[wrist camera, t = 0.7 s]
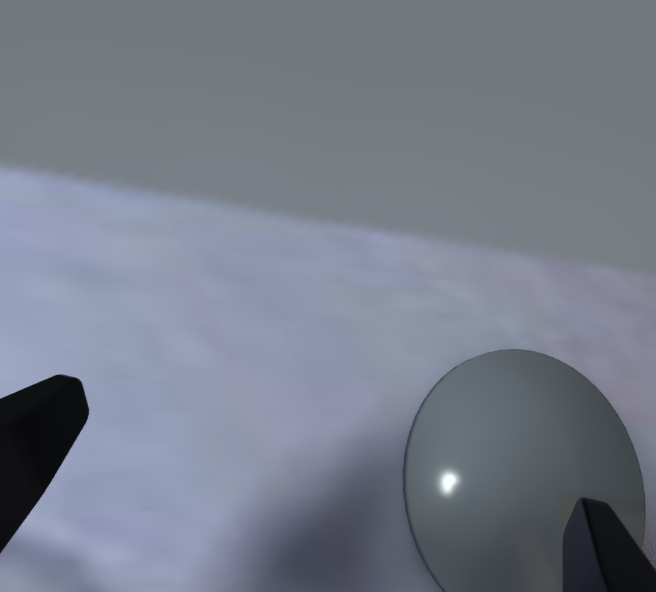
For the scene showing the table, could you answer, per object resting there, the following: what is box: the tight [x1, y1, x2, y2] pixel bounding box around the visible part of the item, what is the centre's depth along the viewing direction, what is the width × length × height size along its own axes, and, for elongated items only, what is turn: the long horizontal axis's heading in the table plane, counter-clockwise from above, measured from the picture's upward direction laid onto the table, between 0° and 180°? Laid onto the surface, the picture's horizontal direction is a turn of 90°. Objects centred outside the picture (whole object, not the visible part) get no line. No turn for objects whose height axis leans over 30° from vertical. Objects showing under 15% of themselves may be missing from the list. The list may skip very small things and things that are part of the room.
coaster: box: [403, 349, 646, 592], centre depth 26 cm, size 13×13×1 cm
